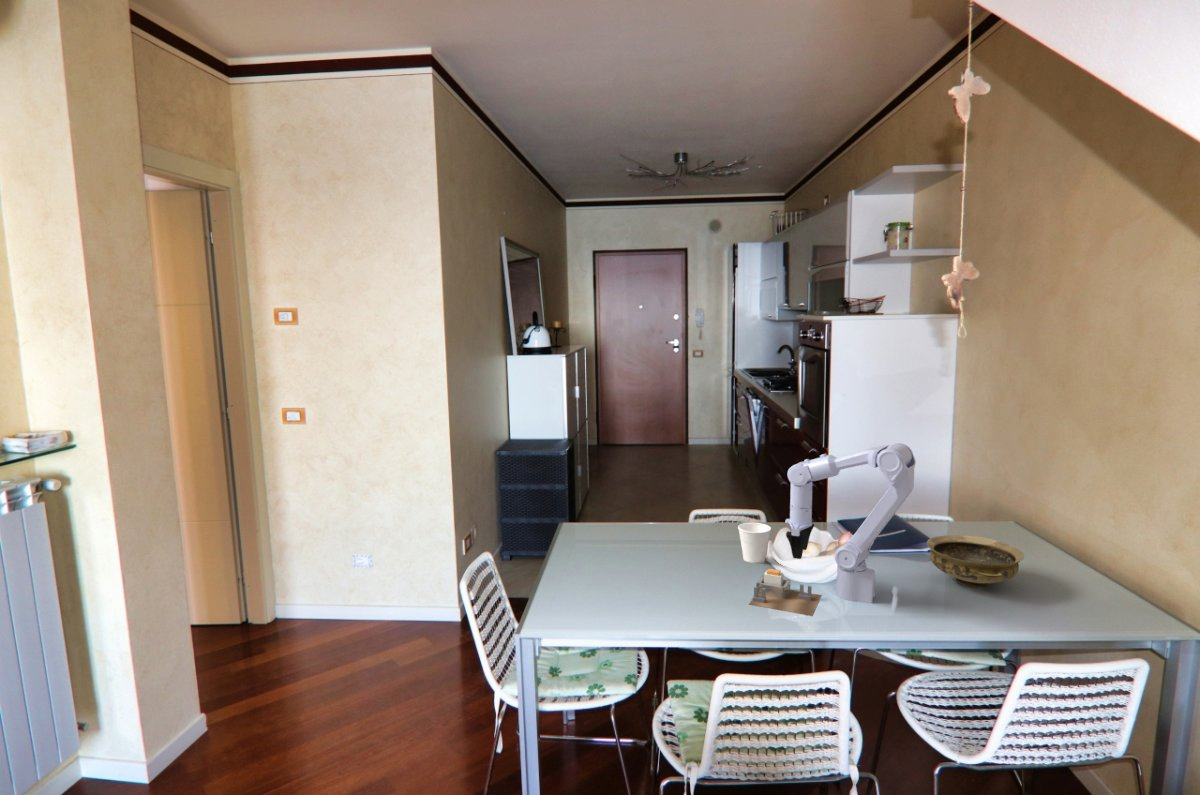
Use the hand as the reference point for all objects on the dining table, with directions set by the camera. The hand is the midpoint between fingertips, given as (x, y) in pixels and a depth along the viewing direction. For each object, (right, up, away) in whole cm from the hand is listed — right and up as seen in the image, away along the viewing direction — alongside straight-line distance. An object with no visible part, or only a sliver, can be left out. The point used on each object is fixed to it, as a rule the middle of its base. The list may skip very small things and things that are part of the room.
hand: (799, 553), depth 192 cm
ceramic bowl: (+49, -9, +2) cm, 50 cm away
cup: (-8, -7, +20) cm, 23 cm away
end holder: (-9, -9, -5) cm, 14 cm away
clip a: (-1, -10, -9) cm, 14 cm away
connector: (-9, -9, -5) cm, 14 cm away
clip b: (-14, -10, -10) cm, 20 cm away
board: (-7, -11, -10) cm, 16 cm away
